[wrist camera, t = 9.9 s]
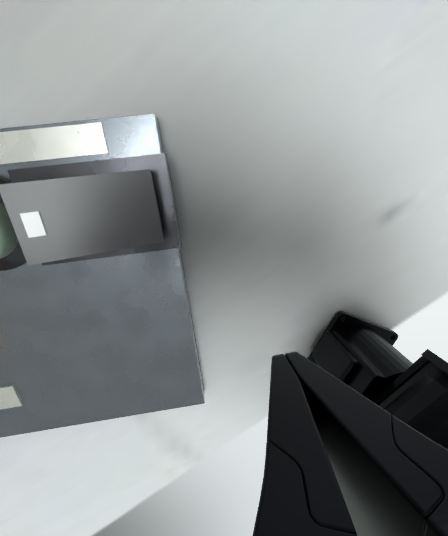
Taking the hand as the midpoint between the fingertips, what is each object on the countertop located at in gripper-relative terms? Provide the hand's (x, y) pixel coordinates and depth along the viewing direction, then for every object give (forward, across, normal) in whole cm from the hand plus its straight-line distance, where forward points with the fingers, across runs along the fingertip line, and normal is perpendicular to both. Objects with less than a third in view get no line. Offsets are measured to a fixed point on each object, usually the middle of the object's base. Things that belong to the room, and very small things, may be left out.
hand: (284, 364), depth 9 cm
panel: (+12, +14, 0) cm, 18 cm away
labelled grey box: (+8, +8, -5) cm, 12 cm away
